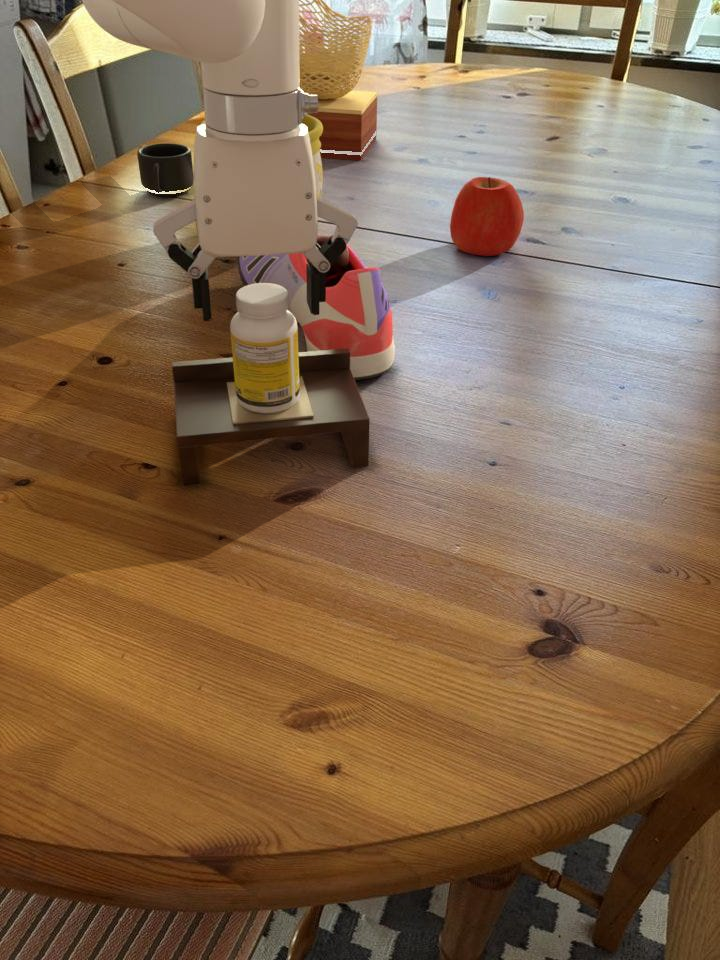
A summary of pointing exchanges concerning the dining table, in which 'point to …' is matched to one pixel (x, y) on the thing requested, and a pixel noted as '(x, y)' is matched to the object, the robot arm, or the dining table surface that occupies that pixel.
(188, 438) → the shelf
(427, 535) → the dining table surface
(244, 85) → the robot arm
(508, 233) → the apple
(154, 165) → the mug
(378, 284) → the coral sneaker
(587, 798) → the dining table surface
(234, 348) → the pill bottle
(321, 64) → the beige netted upright structure
